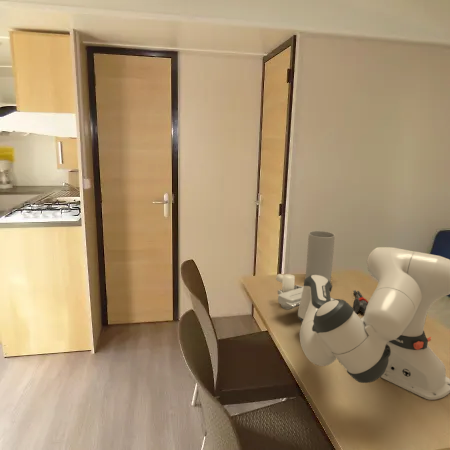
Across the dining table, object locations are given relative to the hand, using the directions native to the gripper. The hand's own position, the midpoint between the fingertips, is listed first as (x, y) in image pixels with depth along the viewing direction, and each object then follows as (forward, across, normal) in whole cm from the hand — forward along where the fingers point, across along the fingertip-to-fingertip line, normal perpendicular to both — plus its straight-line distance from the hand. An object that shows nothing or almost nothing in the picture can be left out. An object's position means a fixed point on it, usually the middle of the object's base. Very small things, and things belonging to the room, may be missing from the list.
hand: (287, 289), depth 157 cm
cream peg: (+2, +1, -8) cm, 8 cm away
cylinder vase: (+12, +34, -8) cm, 37 cm away
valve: (-19, +31, -9) cm, 37 cm away
